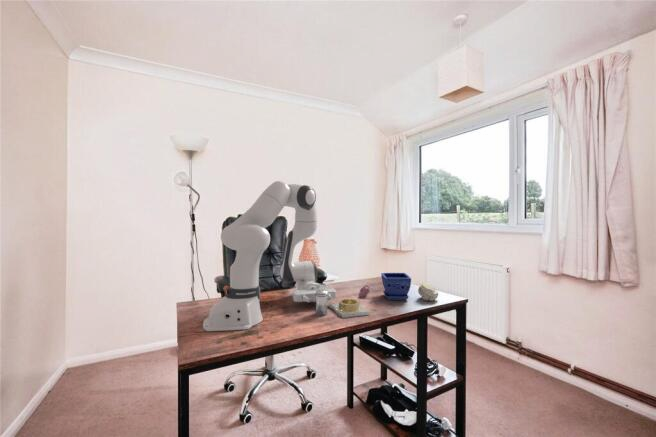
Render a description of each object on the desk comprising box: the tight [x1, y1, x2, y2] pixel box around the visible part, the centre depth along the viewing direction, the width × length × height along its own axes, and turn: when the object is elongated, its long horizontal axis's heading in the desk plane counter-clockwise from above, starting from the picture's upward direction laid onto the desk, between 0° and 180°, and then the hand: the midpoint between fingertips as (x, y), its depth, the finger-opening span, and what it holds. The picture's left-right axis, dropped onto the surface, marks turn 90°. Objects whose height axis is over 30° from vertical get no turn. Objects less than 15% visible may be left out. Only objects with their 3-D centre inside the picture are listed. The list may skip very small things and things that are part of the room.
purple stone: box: [358, 283, 371, 298], centre depth 152 cm, size 10×5×7 cm, turn 169°
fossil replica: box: [417, 282, 439, 302], centre depth 145 cm, size 12×8×10 cm
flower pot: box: [381, 272, 412, 301], centre depth 148 cm, size 13×13×12 cm
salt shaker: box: [315, 289, 329, 317], centre depth 123 cm, size 5×5×10 cm
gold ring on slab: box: [329, 298, 371, 319], centre depth 128 cm, size 13×15×4 cm
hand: (319, 299), depth 126 cm, fingers open, 8 cm apart
